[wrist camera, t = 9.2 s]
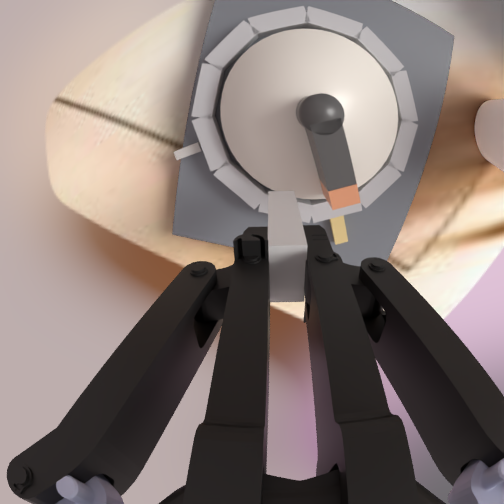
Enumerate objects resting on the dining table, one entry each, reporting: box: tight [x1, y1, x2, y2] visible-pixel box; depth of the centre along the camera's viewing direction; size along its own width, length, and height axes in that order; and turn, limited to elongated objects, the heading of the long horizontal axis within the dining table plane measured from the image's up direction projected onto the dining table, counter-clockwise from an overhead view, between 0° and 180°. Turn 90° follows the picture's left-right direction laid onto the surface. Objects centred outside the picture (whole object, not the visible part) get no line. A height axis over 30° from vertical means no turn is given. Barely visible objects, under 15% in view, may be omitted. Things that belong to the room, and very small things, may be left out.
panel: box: [172, 0, 454, 266], centre depth 18 cm, size 24×20×3 cm
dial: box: [220, 29, 398, 210], centre depth 16 cm, size 12×12×5 cm
